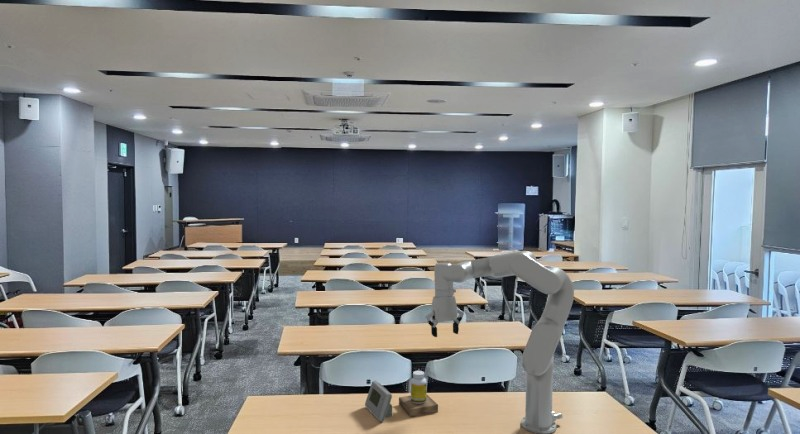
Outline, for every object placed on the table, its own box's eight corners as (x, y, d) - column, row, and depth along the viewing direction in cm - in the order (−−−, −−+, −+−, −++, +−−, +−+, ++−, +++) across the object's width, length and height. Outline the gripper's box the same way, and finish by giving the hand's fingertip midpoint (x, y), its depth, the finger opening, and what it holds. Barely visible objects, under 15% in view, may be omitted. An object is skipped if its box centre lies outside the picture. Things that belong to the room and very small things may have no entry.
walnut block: (425, 400, 195) (425, 393, 195) (437, 412, 184) (438, 404, 183) (398, 404, 190) (399, 397, 190) (410, 417, 179) (410, 409, 179)
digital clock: (364, 406, 189) (364, 380, 189) (385, 403, 191) (385, 378, 191) (371, 424, 173) (371, 396, 173) (395, 421, 176) (395, 394, 175)
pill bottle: (425, 405, 183) (425, 376, 183) (409, 403, 184) (409, 375, 184) (427, 398, 189) (427, 370, 189) (412, 397, 191) (412, 369, 190)
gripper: (458, 289, 195) (459, 330, 195) (421, 293, 188) (422, 335, 188) (467, 292, 188) (468, 334, 188) (429, 296, 181) (430, 340, 182)
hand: (445, 334), depth 188 cm, fingers open, 9 cm apart
